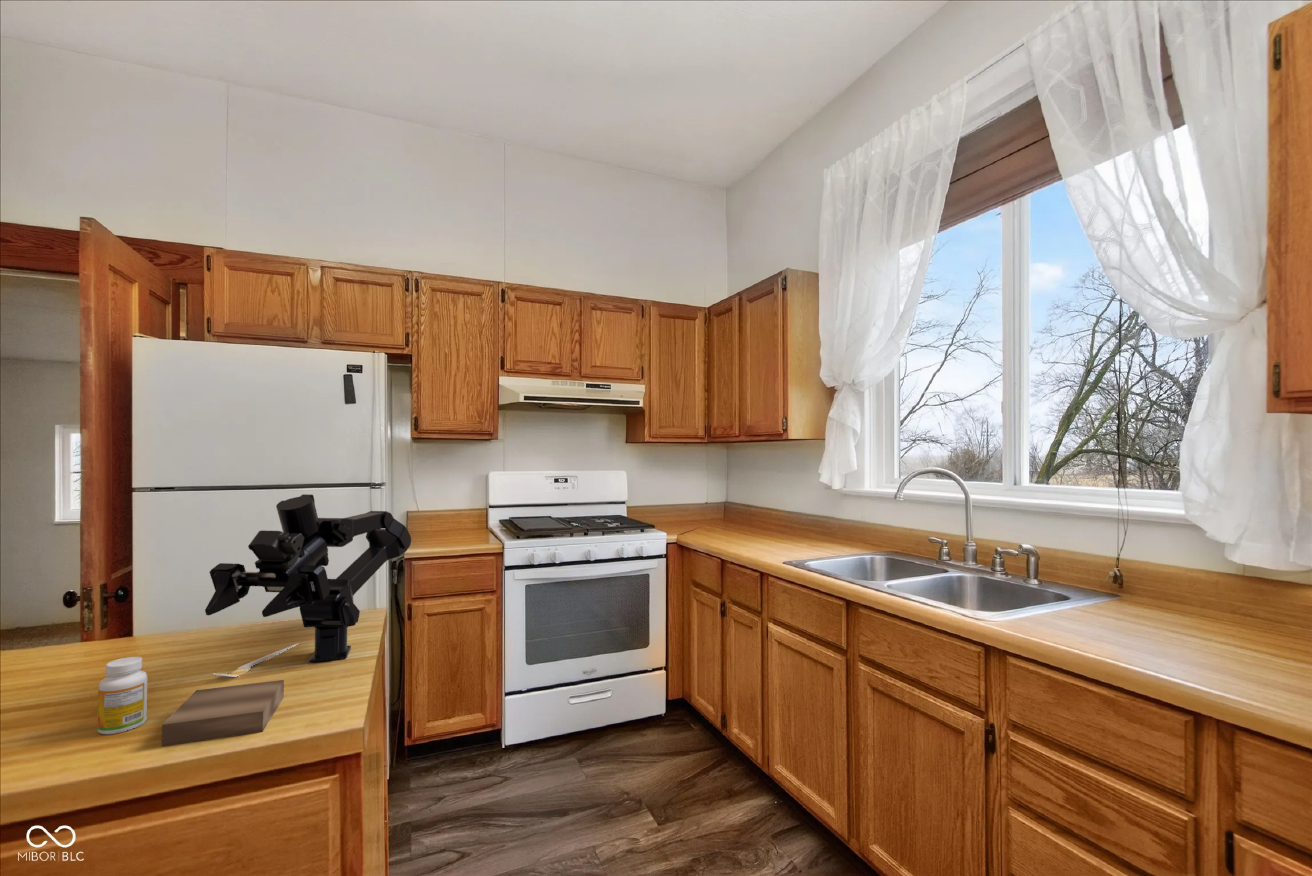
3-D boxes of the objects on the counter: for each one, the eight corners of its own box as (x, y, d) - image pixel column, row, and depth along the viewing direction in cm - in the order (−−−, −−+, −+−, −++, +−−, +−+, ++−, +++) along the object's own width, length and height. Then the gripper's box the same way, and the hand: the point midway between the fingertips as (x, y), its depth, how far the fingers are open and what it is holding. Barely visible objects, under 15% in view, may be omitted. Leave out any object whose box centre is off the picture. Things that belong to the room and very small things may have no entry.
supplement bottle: (109, 720, 86) (111, 656, 86) (153, 715, 88) (155, 652, 88) (88, 737, 81) (90, 670, 81) (135, 731, 83) (137, 665, 83)
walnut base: (195, 708, 90) (196, 689, 90) (283, 697, 95) (283, 679, 95) (161, 746, 79) (162, 724, 79) (262, 731, 83) (263, 711, 83)
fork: (305, 647, 120) (305, 638, 120) (226, 684, 100) (226, 673, 100) (290, 647, 120) (291, 638, 121) (209, 683, 101) (209, 672, 101)
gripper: (236, 519, 101) (162, 568, 86) (338, 521, 100) (280, 571, 86) (252, 572, 105) (183, 628, 90) (350, 574, 104) (297, 631, 90)
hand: (234, 613), depth 89 cm, fingers open, 9 cm apart
